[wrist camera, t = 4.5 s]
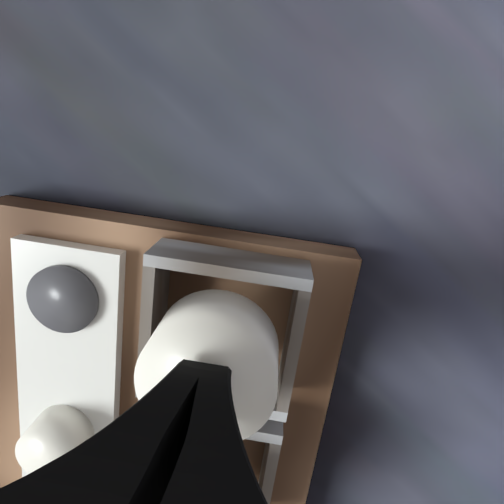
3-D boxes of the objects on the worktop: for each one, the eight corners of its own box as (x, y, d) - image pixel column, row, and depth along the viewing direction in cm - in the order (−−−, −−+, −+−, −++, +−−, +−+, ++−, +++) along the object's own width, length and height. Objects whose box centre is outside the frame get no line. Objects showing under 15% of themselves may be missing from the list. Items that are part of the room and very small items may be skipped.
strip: (126, 250, 15) (101, 269, 13) (112, 559, 20) (93, 608, 18) (20, 233, 15) (-20, 250, 13) (33, 545, 20) (5, 592, 18)
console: (354, 248, 16) (374, 280, 12) (282, 572, 21) (281, 656, 18) (7, 194, 16) (-66, 212, 13) (23, 525, 21) (-24, 598, 18)
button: (287, 300, 12) (288, 334, 10) (268, 406, 14) (266, 456, 12) (161, 280, 13) (137, 310, 10) (154, 387, 14) (130, 433, 12)
